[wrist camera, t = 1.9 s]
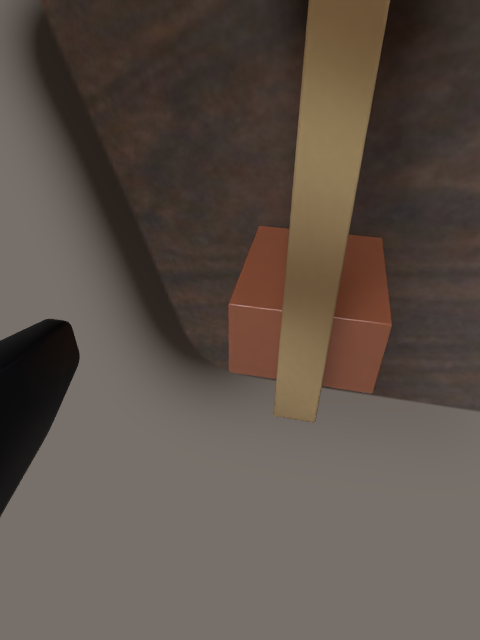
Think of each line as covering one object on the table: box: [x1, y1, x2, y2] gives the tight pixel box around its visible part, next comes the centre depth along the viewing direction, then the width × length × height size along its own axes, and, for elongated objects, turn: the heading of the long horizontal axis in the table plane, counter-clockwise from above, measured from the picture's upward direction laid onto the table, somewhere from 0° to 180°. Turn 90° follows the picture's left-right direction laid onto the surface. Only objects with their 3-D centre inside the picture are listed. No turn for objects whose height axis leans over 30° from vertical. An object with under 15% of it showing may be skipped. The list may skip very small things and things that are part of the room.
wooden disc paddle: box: [274, 0, 390, 422], centre depth 12 cm, size 16×5×7 cm, turn 179°
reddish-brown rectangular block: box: [228, 226, 392, 394], centre depth 16 cm, size 3×5×6 cm, turn 90°
